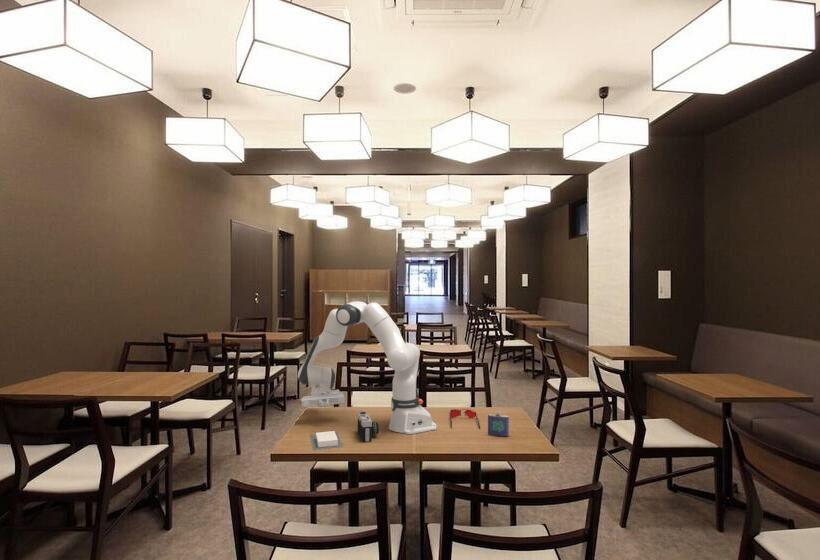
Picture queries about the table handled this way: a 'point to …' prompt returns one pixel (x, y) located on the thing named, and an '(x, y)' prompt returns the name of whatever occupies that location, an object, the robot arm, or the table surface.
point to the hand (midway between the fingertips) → (324, 404)
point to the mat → (315, 447)
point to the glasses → (468, 412)
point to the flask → (498, 425)
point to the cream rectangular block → (326, 439)
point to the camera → (366, 427)
